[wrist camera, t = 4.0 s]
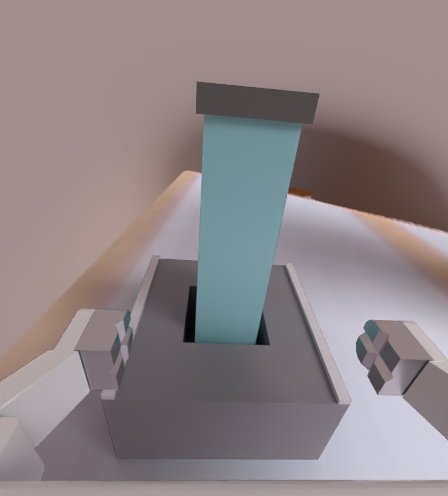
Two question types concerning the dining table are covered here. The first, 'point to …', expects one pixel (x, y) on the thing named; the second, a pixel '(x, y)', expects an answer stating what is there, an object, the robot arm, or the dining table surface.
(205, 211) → the plug
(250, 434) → the grey socket base
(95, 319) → the robot arm
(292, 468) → the dining table surface
